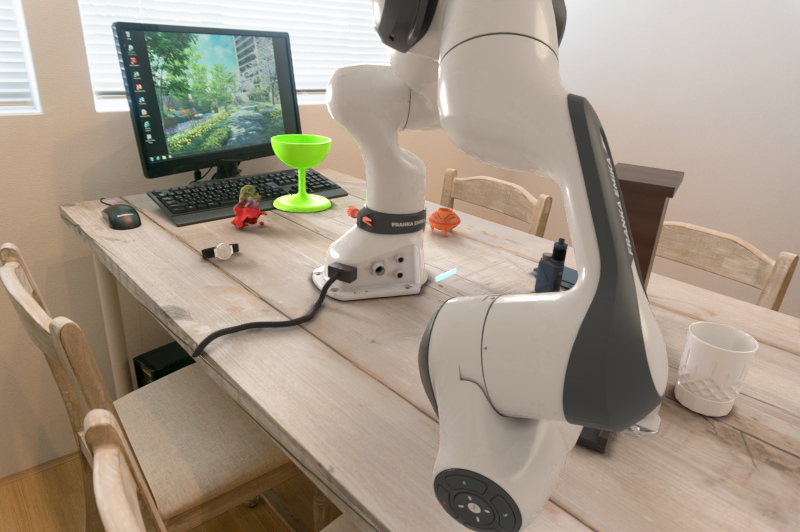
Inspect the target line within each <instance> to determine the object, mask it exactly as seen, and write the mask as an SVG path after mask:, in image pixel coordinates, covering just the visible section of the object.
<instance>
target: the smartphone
mask: <svg viewBox="0 0 800 532" xmlns="http://www.w3.org/2000/svg"><path fill="white" fill-rule="evenodd" d="M537 271H538V266H537V267H535V268H533V270H532V274H533V275H534V276H536V277H537ZM577 280H578V271H577V269H574V268H571V267H568V266H566V265H565V266H564V271H563V276H562V281H561V286H562V287H565V288H568V289H571V288H572V287H573V286H574V285H575V284H576V282H577Z"/></svg>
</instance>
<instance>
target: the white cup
mask: <svg viewBox="0 0 800 532" xmlns="http://www.w3.org/2000/svg"><path fill="white" fill-rule="evenodd" d="M682 347H683V348H682V351H681V356H680V359H679V366H678V369H677V378H676V382H675V386H674V390H673V391H674V398H675V399H676V400H677V401H678V402H679V403H680V404H681V405H682V406H683V407H685V408H687V409H688V410H690V411H692V412H695V413H697V414H699V415H703V416H707V417H716V418H719V417H724V416H728V414H729V413H730V412H731V411H732V408H733V406H734V404H735V401H736V399H737V398H738V397H739V394H740V392H741V390H742V388H743V386H744V383H745V381H746V379H747V377H748V375H749V372H750V369H751V367H752V364H753V362H754V360H755V358H756V355H757V353H758V350H759V348H760V344H759V342H758V341H757V339H755V337H753V336H752V335H750V334H749V333H748V332H746V331H743V330H742V329H739V328H737V327H734V326H731V325H729V324H724V323H720V322H715V321H704V320H703V321H695V322H692V323H690V324H689V325H688V326H687V330H686V334H685V339H684V343H683V346H682Z"/></svg>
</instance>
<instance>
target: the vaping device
mask: <svg viewBox="0 0 800 532" xmlns="http://www.w3.org/2000/svg"><path fill="white" fill-rule="evenodd" d="M565 241H566V238H564V237H559V238H558V241H554V243H553V248H552V253H551V252H543V253H542V255H541V257H540V260H539V261H538V265H537V267H538V271H537V276H536V277H535V283H534V288H533V289H534V293H547V292H561V286H562V285H561V281H562V276H563V271H564V266H566V265H565V263H566V259H567V258H566V257H567V251H568V246H569V245H568V244H567V243H566V242H565Z"/></svg>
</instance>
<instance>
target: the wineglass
mask: <svg viewBox="0 0 800 532" xmlns="http://www.w3.org/2000/svg"><path fill="white" fill-rule="evenodd" d="M270 143H271V148H272V150H273V152H274V154H275V156H276V157H277V158H278V159H279V161H281V162H282V163H283V164H285V165H286V166H287V167H290V168H293V169H295V170H297V171H298V191H297V193H294V194H293V193H291V194H292V195H291V194H286V195H282V196H280V197H277V198H276V199H275V200H274V201H273V204H272V205H273V207H274V208H276V209H277V210H280V211H283V212H289V213H316V212H322V211H326V210H327V209H329V208H331V207H332V203H331V201H330V200H329V199H328V198H327V197H324V196H323V195H322V196H321V195H317V194H311V193H307V184H306V182H307V180H306V178H307V177H306V175H307V174H306V170H310V169H313V168H315V167H317V166H319V164H321V163H322V162H323V161H324V160H325V159H326V158H327V156H329V152H330V150H331V147H332V139H331V138H330V137H327V136H323V135H316V134H301V133H300V134H299V133H297V134H295V133H292V134H280V135H279V134H278V135H274V136H272V137H270Z"/></svg>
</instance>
